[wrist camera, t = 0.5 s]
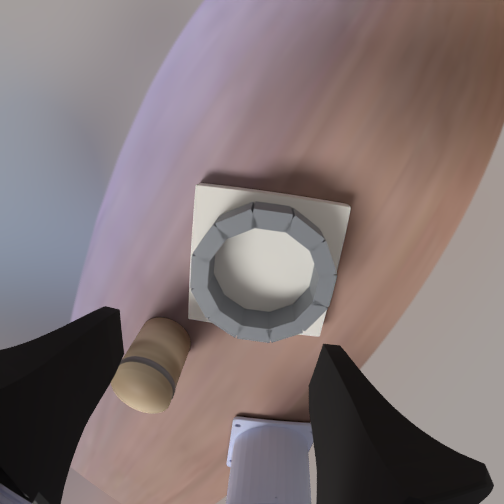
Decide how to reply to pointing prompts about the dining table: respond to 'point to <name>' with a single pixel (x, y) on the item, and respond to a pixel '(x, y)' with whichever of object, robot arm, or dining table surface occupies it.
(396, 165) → the dining table surface
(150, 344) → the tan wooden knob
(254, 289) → the collar stand
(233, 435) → the robot arm
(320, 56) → the dining table surface
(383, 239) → the dining table surface
